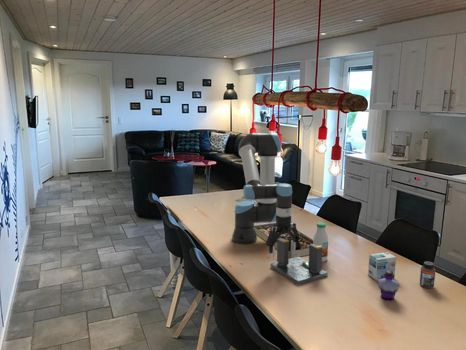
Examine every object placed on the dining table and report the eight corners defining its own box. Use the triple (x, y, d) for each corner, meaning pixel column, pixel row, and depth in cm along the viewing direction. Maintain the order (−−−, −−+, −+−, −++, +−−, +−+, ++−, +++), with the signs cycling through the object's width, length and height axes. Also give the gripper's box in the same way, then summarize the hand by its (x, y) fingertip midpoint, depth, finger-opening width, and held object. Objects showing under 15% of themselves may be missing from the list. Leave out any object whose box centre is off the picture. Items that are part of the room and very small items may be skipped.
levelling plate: (270, 267, 197) (270, 260, 197) (298, 259, 206) (298, 253, 205) (298, 285, 179) (298, 277, 178) (327, 276, 187) (327, 268, 187)
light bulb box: (375, 280, 182) (377, 259, 180) (367, 274, 189) (368, 254, 187) (395, 278, 185) (397, 256, 183) (386, 272, 192) (387, 251, 189)
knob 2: (306, 270, 190) (307, 243, 187) (314, 267, 192) (315, 242, 189) (315, 274, 184) (316, 247, 182) (322, 272, 187) (324, 246, 184)
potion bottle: (380, 290, 173) (382, 265, 171) (400, 296, 168) (403, 270, 166) (373, 298, 167) (375, 272, 165) (394, 304, 162) (396, 278, 159)
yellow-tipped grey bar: (275, 263, 197) (275, 238, 194) (282, 261, 200) (283, 236, 197) (282, 267, 192) (282, 241, 189) (290, 265, 194) (290, 240, 192)
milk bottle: (316, 262, 202) (318, 226, 198) (310, 257, 210) (311, 221, 206) (330, 261, 204) (331, 225, 200) (322, 255, 212) (324, 220, 208)
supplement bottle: (421, 281, 181) (423, 259, 179) (435, 285, 178) (437, 262, 175) (417, 286, 177) (420, 263, 175) (432, 290, 173) (434, 266, 171)
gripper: (267, 221, 181) (266, 263, 186) (308, 213, 193) (306, 253, 198) (258, 217, 188) (258, 258, 192) (298, 209, 200) (297, 248, 204)
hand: (282, 256), depth 195 cm, fingers open, 12 cm apart
